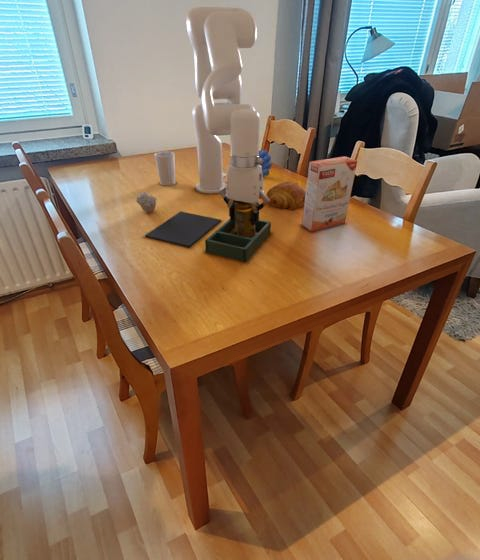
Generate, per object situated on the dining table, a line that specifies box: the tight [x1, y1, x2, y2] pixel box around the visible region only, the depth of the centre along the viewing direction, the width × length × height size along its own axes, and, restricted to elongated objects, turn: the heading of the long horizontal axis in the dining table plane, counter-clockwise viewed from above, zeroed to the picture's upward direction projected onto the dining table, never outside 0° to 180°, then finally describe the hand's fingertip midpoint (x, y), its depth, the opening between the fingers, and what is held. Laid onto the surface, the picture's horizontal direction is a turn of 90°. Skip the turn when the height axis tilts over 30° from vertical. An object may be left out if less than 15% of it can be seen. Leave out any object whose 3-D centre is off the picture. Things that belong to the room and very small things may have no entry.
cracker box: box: [301, 156, 358, 232], centre depth 111 cm, size 14×6×21 cm, turn 117°
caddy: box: [204, 218, 272, 263], centre depth 105 cm, size 19×13×4 cm, turn 155°
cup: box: [154, 150, 176, 187], centre depth 147 cm, size 8×8×12 cm
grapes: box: [258, 149, 273, 179], centre depth 153 cm, size 12×7×12 cm, turn 34°
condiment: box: [229, 200, 258, 239], centre depth 105 cm, size 7×8×12 cm
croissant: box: [266, 181, 306, 210], centre depth 130 cm, size 14×16×8 cm
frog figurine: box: [135, 192, 157, 213], centre depth 123 cm, size 6×7×7 cm
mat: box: [144, 211, 222, 249], centre depth 114 cm, size 20×16×1 cm
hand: (243, 220), depth 106 cm, fingers closed on condiment, 6 cm apart
